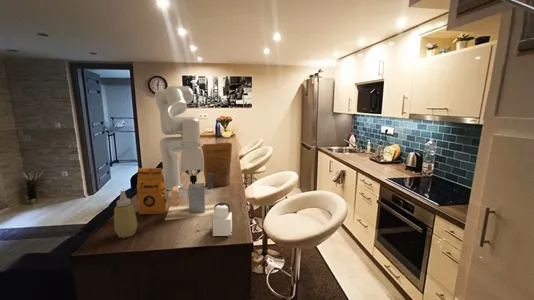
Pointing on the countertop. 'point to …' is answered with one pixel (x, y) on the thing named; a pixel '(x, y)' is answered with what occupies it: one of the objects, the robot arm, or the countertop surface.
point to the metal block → (196, 198)
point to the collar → (175, 196)
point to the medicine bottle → (222, 220)
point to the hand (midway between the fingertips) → (193, 183)
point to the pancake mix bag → (217, 163)
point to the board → (183, 211)
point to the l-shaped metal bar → (206, 190)
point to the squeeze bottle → (124, 217)
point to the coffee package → (151, 191)
